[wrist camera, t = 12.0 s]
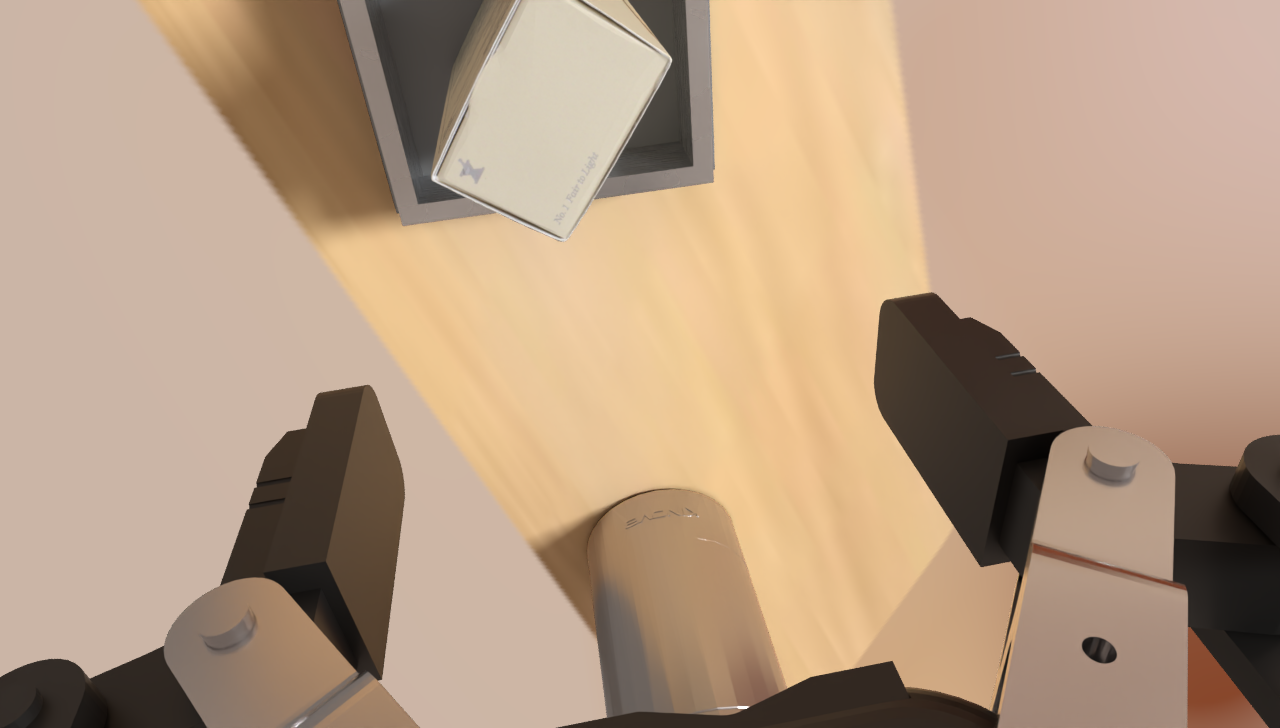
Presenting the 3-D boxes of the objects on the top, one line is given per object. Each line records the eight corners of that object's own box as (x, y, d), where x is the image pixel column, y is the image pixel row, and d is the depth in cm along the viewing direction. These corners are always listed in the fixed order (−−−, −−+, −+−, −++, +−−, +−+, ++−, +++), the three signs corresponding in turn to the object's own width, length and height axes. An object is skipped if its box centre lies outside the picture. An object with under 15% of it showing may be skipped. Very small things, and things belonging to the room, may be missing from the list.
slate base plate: (710, 163, 36) (714, 169, 36) (398, 206, 36) (397, 213, 35) (697, -218, 28) (702, -219, 28) (293, -176, 27) (287, -176, 27)
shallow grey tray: (698, 156, 35) (713, 182, 33) (409, 196, 34) (402, 225, 32) (683, -192, 28) (701, -191, 26) (315, -153, 27) (298, -148, 25)
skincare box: (545, 122, 34) (566, 255, 24) (444, 67, 32) (422, 186, 22) (623, -20, 31) (683, 62, 21) (518, -89, 29) (531, -34, 19)
